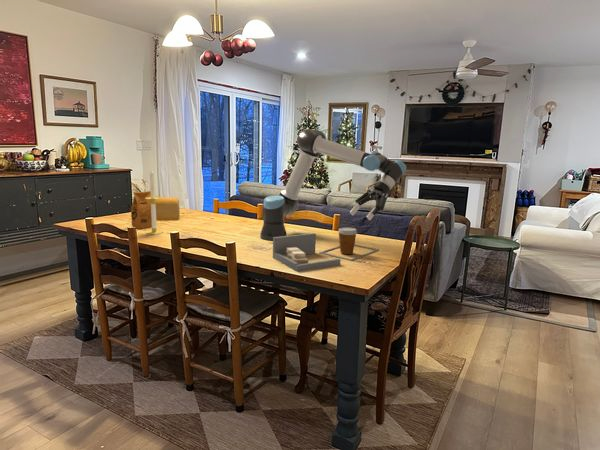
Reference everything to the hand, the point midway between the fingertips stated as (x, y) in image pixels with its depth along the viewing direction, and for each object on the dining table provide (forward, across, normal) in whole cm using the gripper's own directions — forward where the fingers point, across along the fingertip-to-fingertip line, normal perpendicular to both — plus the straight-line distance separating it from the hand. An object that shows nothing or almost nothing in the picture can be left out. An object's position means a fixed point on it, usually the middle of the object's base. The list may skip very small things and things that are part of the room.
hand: (359, 216), depth 211 cm
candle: (+72, +84, +46) cm, 120 cm away
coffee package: (+74, +102, +48) cm, 135 cm away
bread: (+64, +125, +37) cm, 145 cm away
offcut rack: (+36, -4, +10) cm, 38 cm away
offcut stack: (+40, -4, +14) cm, 43 cm away
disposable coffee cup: (+18, -1, -8) cm, 19 cm away
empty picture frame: (+17, +1, -10) cm, 20 cm away
